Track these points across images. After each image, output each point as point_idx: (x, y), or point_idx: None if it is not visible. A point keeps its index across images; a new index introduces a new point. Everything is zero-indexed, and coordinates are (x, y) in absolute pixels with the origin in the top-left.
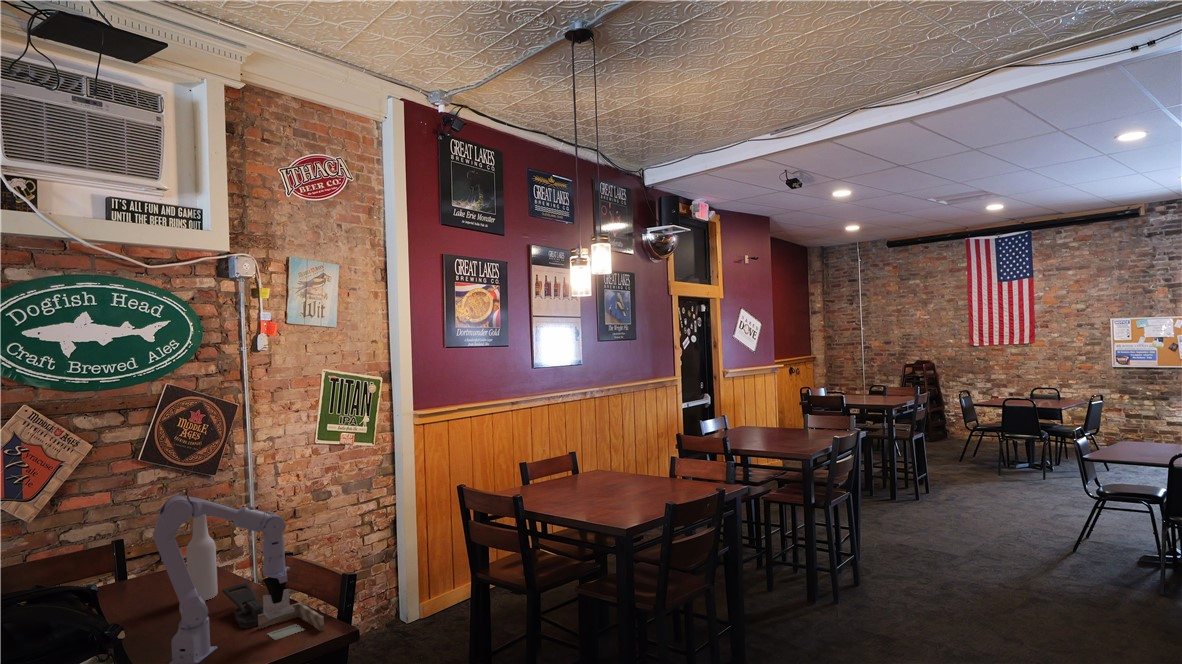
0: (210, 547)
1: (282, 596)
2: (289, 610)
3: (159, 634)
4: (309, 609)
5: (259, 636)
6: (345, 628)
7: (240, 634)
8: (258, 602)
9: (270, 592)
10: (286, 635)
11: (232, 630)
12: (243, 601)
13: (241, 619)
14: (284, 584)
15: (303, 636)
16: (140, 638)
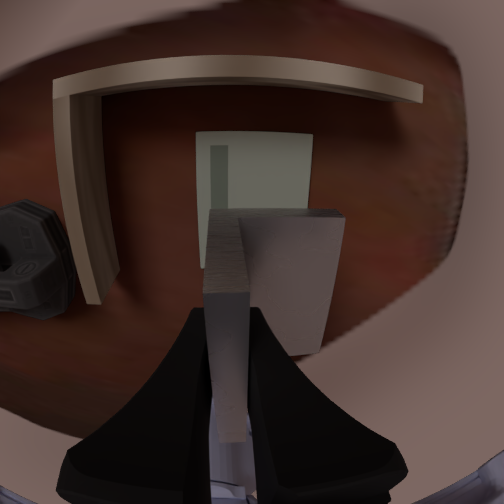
0: None
1: (270, 328)
2: (338, 251)
3: (23, 402)
4: (236, 65)
5: (198, 290)
6: (432, 38)
7: (122, 324)
8: None
9: (207, 421)
10: None
11: (70, 326)
12: None
13: (41, 315)
14: (347, 424)
15: (368, 171)
16: (31, 417)
